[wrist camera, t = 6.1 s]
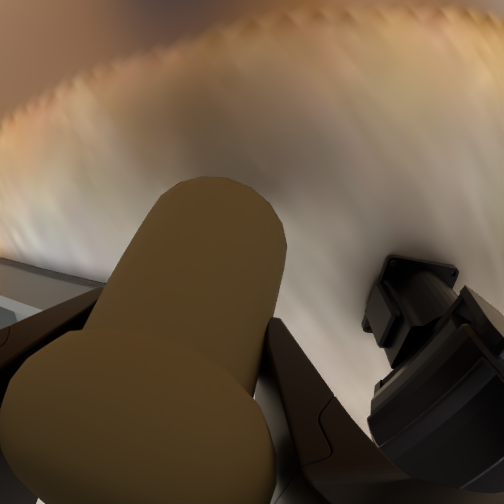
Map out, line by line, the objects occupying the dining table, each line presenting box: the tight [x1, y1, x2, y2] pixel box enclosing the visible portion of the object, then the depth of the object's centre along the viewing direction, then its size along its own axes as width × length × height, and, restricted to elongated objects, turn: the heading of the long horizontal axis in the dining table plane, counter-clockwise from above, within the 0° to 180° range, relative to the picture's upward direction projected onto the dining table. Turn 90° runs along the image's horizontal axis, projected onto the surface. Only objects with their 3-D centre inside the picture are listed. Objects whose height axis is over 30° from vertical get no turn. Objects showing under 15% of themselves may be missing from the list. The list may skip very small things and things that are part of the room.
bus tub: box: [0, 258, 106, 329], centre depth 24 cm, size 16×16×5 cm
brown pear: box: [0, 177, 287, 504], centre depth 8 cm, size 6×6×11 cm
